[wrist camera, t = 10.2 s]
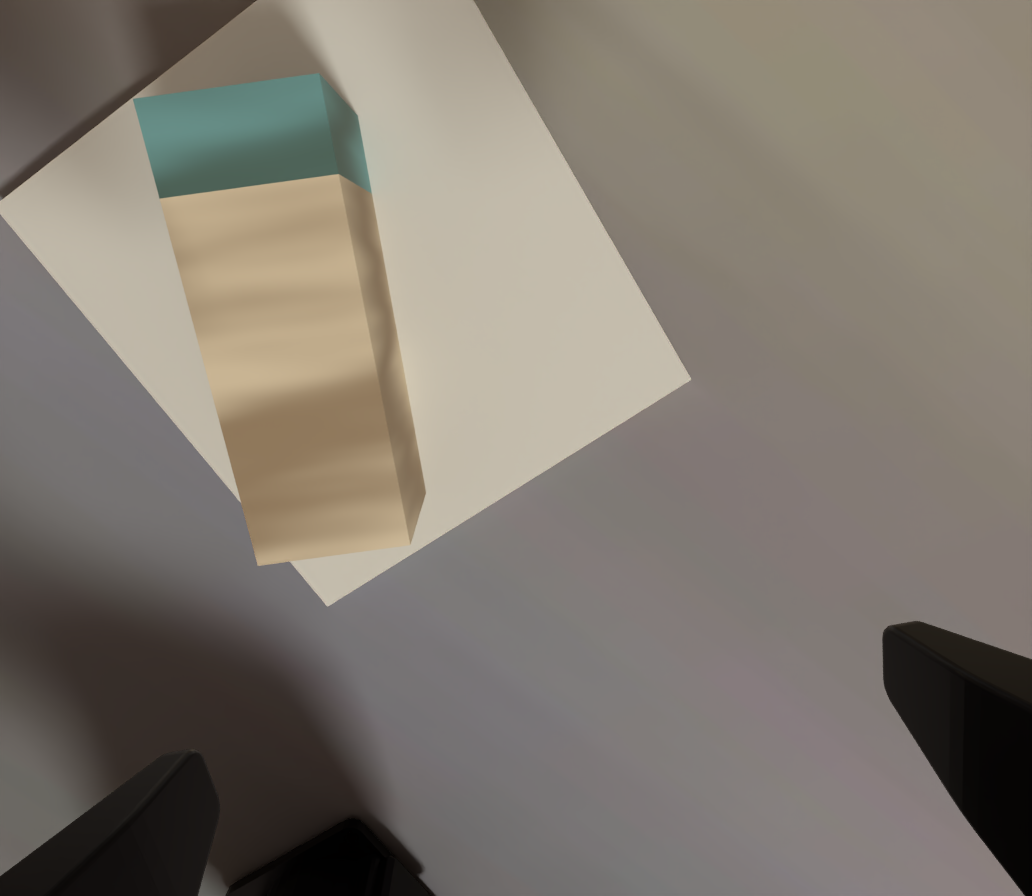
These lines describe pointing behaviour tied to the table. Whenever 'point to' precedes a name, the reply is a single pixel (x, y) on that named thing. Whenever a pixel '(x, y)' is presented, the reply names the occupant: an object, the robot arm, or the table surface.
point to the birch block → (290, 311)
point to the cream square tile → (387, 254)
